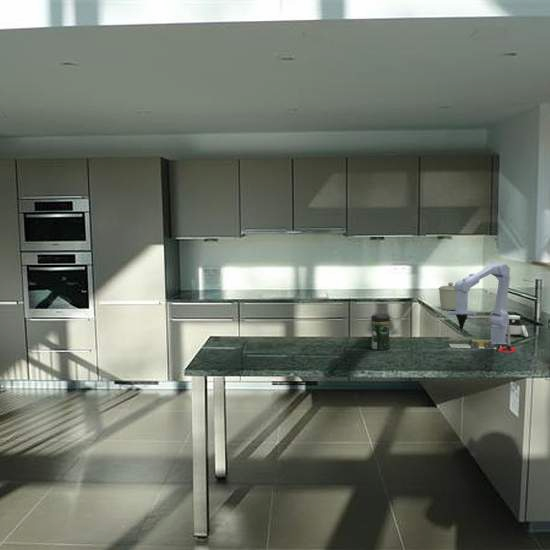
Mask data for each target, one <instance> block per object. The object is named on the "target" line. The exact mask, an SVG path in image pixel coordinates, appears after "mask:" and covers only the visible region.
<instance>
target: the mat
mask: <svg viewBox="0 0 550 550" xmlns="http://www.w3.org/2000/svg"><path fill="white" fill-rule="evenodd" d="M448 344H449V346H450V348H454V349H455V348H457V349H459V348H460V349H472V348H471V345H469V343H468V344H467V343H464V344H463V343H448ZM478 349H485V348H484V347H479V348H478ZM486 349H487V350H490V349H494V350H495V349H497V350H498V348H497V347H496V348H486Z"/></svg>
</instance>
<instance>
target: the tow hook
mask: <svg viewBox="0 0 550 550" xmlns="http://www.w3.org/2000/svg"><path fill="white" fill-rule="evenodd" d="M511 342H512V341H511V337H510V326H508V336H507V340H506V343H507V344H505V345H506V346H501V348H497V351H498V352H501V353H505V352H506V353H507V354H513V353H515V352H516V351H517V348H516V347H512V345H511ZM505 350H509V351H505Z"/></svg>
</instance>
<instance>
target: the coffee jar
mask: <svg viewBox="0 0 550 550" xmlns="http://www.w3.org/2000/svg"><path fill="white" fill-rule="evenodd" d="M370 323H371V327H372V331H371V344H370V348H371V349H372V350H374V351H375V350H377V351H385V350H389V349H390V348H391V342H390V329H389V328H390V323H391V319H390V315H389V314H388V313H387V314H386V313H378V314H372V315H371V319H370Z"/></svg>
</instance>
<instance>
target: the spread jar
mask: <svg viewBox="0 0 550 550" xmlns="http://www.w3.org/2000/svg"><path fill="white" fill-rule="evenodd" d="M508 326H510V336H514V337H513V338H516V337H515V336H519V337H521V336H522V333H523V335H524V337H525V338H528V337H529V334H528V330H527V327H526V326H525V324H524V325H523V324H522V321H521V316H520V315H516V314H513V315H512V314H509V324H508ZM508 326H507V328H506V335H505V336H506V337H508Z"/></svg>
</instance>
